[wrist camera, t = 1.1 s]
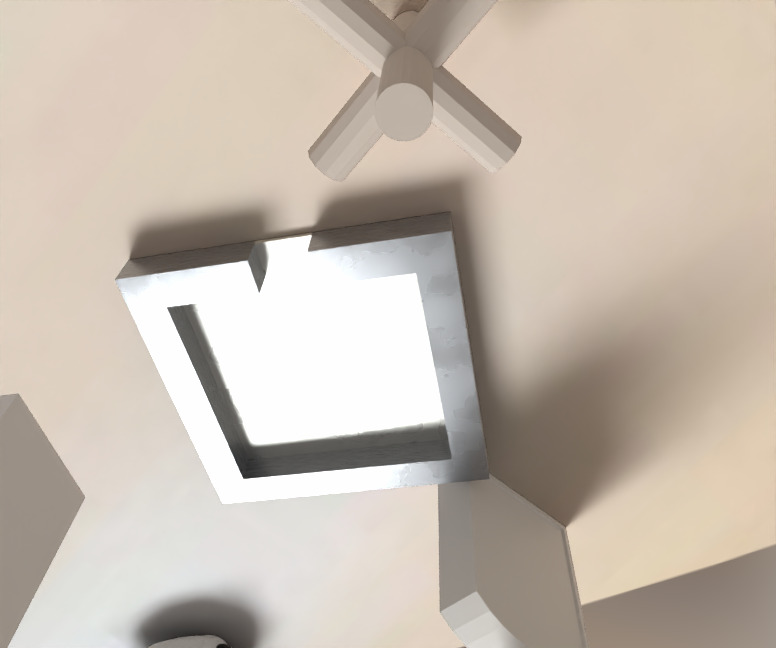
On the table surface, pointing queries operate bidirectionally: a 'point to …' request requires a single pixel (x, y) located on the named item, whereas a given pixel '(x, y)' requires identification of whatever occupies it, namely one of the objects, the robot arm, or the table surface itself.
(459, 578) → the gravestone
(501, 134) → the pipe connector
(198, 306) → the square metal tray
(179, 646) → the robot toy
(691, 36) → the table surface
